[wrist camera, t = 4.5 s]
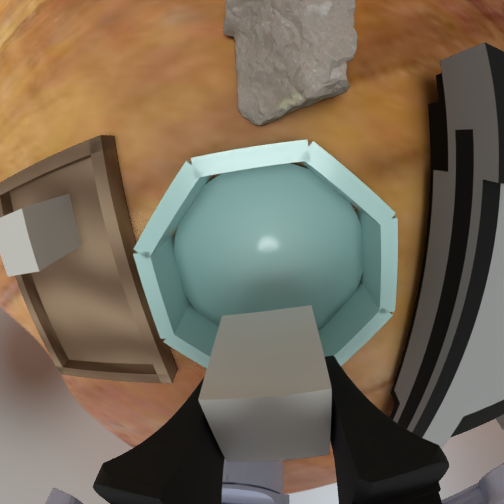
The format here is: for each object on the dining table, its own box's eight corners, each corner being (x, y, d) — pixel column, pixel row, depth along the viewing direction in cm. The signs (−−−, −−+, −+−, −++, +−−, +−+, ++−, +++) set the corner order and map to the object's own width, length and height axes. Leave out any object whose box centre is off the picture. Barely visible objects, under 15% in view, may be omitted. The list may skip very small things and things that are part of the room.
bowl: (370, 330, 20) (388, 365, 16) (193, 350, 22) (180, 387, 18) (363, 137, 16) (390, 134, 12) (146, 170, 18) (114, 176, 13)
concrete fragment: (223, 124, 17) (201, 109, 11) (229, -42, 12) (217, -91, 6) (337, 128, 16) (370, 117, 10) (327, -39, 12) (342, -85, 6)
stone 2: (315, 371, 14) (329, 454, 9) (238, 379, 14) (226, 461, 9) (311, 305, 12) (331, 388, 8) (221, 315, 13) (198, 399, 8)
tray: (177, 369, 23) (172, 383, 21) (68, 363, 24) (60, 374, 22) (114, 135, 17) (100, 135, 15) (5, 183, 18) (-8, 187, 16)
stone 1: (82, 245, 19) (39, 271, 14) (48, 252, 19) (7, 276, 14) (69, 193, 18) (21, 208, 13) (36, 205, 18) (-9, 221, 13)
